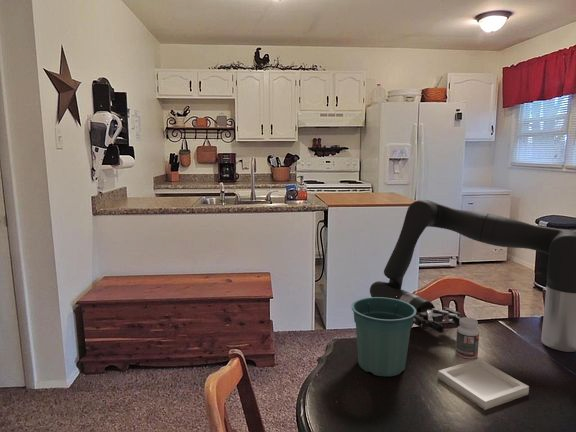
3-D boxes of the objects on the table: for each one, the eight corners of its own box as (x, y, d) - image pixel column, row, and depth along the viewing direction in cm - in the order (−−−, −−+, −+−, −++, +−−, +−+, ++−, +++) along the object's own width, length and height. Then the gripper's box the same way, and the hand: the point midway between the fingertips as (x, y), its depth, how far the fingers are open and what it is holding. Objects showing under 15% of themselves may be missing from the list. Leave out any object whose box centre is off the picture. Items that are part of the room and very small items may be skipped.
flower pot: (361, 345, 120) (362, 292, 117) (419, 358, 112) (422, 302, 110) (341, 371, 106) (342, 312, 103) (405, 389, 98) (408, 325, 95)
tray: (478, 365, 108) (479, 358, 108) (528, 394, 95) (529, 386, 95) (437, 377, 103) (438, 370, 102) (484, 410, 90) (485, 401, 90)
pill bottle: (479, 360, 111) (482, 325, 109) (457, 358, 112) (459, 324, 111) (474, 350, 117) (477, 317, 115) (453, 348, 118) (455, 315, 116)
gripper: (398, 299, 129) (435, 318, 114) (433, 293, 135) (473, 310, 120) (397, 322, 130) (434, 344, 116) (432, 315, 136) (471, 334, 121)
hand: (454, 327), depth 118 cm, fingers open, 8 cm apart
